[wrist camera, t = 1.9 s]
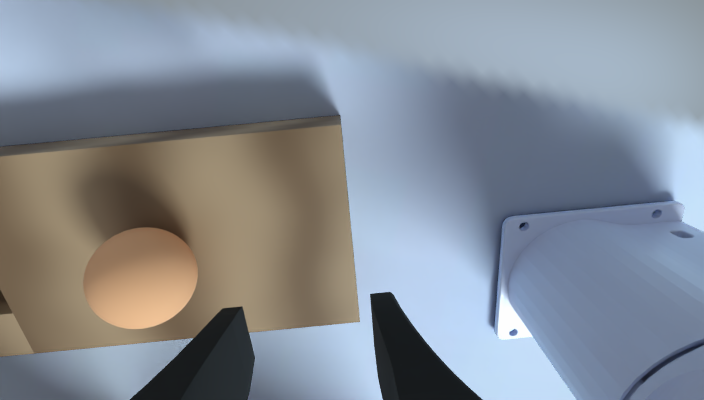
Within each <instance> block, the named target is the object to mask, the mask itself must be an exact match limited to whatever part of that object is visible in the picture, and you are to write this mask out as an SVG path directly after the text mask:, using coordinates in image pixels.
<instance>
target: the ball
mask: <svg viewBox="0 0 704 400" xmlns="http://www.w3.org/2000/svg"><path fill="white" fill-rule="evenodd" d="M197 278H198V267H197V262H196V259H195V256H194V254H193V252H192V250H191V249H190V248H189V246H188V245H187V244H186V243H185V242H184V241H183V240H182V239H181V238H179V237H178V236H176V235H175V234H173V233H171V232H168V231H166V230H162V229H158V228H150V227H143V228H134V229H130V230H126V231H123V232H121V233H119V234H117V235H114V236H113V237H111V238H110V239H108V240H107V241H105V242H104V243H103V244H102V245H101V246H100V247H99V248H98V249H97V250H96V251H95V252H94V254H93V255H92V257H91V258H90V260H89V262H88V264H87V266H86V269H85V273H84V279H83V288H84V294H85V297H86V300H87V302H88V304H89V306H90V307H91V309H92V310H93V311H94V313H95V314H96V315H97V316H99V317H100V318H101V319H102V320H104V321H106V322H107V323H109V324H112V325H114V326H117V327H121V328H126V329H144V328H149V327H153V326H156V325H159V324H161V323H163V322H166V321H167V320H169V319H171V318H172V317H174V316H175V315H176V314H178V313H179V312H180V311H181V310H182V309H183V308H184V307H185V306H186V304H187V303H188V301H189V300H190V298H191V297H192V295H193V292H194V290H195V287H196V284H197Z"/></svg>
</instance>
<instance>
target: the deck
mask: <svg viewBox="0 0 704 400" xmlns="http://www.w3.org/2000/svg"><path fill="white" fill-rule="evenodd" d="M143 227H150V228H158V229H162V230H166V231H168V232H171V233H173V234H175V235H176V236H178V237H179V238H181V239H182V240H183V241H184V242H185V243H186V244H187V245H188V246H189V248H190V249H191V250H192V252H193V254H194V256H195V259H196V262H197V267H198V278H197V284H196V287H195V290H194V292H193V295H192V297H191V298H190V300H189V301H188V303H187V304H186V306H185V307H184V308H183V309H182V310H181V311H180V312H179V313H178V314H176V315H175V316H174V317H172V318H171V319H169V320H167V321H166V322H163V323H161V324H159V325H156V326H153V327H149V328H144V329H126V328H121V327H117V326H114V325H112V324H109V323H107V322H106V321H104V320H102V319H101V318H100V317H99V316H97V315H96V314H95V313H94V311H93V310H92V309H91V307H90V306H89V304H88V302H87V300H86V297H85V294H84V288H83V279H84V273H85V269H86V266H87V264H88V262H89V260H90V258H91V257H92V255H93V254H94V252H95V251H96V250H97V249H98V248H99V247H100V246H101V245H102V244H103V243H104V242H105V241H107V240H108V239H110V238H111V237H113V236H114V235H117V234H119V233H121V232H123V231H126V230H130V229H134V228H143ZM241 306H243V311H244V315H245V319H246V323H247V327H248V331H249V333H250V332H260V331H270V330H281V329H291V328H301V327H311V326H322V325H332V324H342V323H352V322H360V318H359V307H358V296H357V286H356V275H355V265H354V254H353V244H352V234H351V223H350V213H349V202H348V192H347V181H346V171H345V161H344V150H343V140H342V129H341V119H340V115H336V116H325V117H314V118H303V119H293V120H282V121H271V122H260V123H250V124H239V125H228V126H217V127H207V128H196V129H185V130H175V131H164V132H153V133H142V134H132V135H121V136H110V137H99V138H89V139H78V140H67V141H56V142H46V143H35V144H24V145H13V146H3V147H0V357H3V356H13V355H23V354H34V353H44V352H54V351H65V350H75V349H85V348H95V347H106V346H116V345H126V344H137V343H147V342H157V341H167V340H178V339H188V338H195V337H196V336H197V335H198V333H199V332H200V331H201V330H202V329H203V328H204V327H205V326H206V325H207V324H208V323H209V322H210V321H211V320H212V319H213V318H214V316H215V315H216V314H217V313H218V312H219V311H220V310H221V309H222V308H230V307H241Z"/></svg>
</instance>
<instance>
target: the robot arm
mask: <svg viewBox="0 0 704 400" xmlns="http://www.w3.org/2000/svg"><path fill="white" fill-rule="evenodd" d="M684 209H685V207H684V205H683V204H681V203H679V202H676V201H666V202H656V203H645V204H635V205H624V206H614V207H603V208H593V209H582V210H572V211H561V212H551V213H540V214H530V215H519V216H511V217H508V218H507V219H505V221H504V222H503V225H502V236H501V249H500V262H499V276H498V289H497V302H496V315H495V328H494V331H495V334H496V335H497V337H498V338H500V339H513V338H523V337H533V338H534V339H535V341H536V342H537V344H538V345H539V346H540V348H541V349H542V351H543V352H544V354H545V355H546V357H547V358H548V359H549V361H550V362H551V364H552V365H553V367H554V368H555V369H556V371H557V372H558V374H559V375H560V377H561V378H562V380H563V381H564V382H565V384H566V385H567V387H568V388H569V390H570V391H571V392H572V394H573V395H574V397H575V398H576V400H704V232H702V231H700V230H698V229H696V228H694V227H692V226H690V225H688V224H686V223H684V222H682V218H683V214H684ZM655 210H656V211H655ZM654 211H655V213H654V214H653V215H652V213H653V212H654ZM523 222H525V225H524V226H523V227H522V228H519V226H520V224H521V223H523ZM370 297H371V310H372V322H373V335H374V347H375V355H376V364H377V372H378V379H379V384H380V388H381V393H382V397H383V400H482V399H481V398H480V397H479V396H478V395H477V394H476V393H474V392H473V391H472V390H471V389H470V388H469V387H468V386H467V385H466V384H465V383H464V382H463V381H461V380H460V379H459V378H458V377H457V376H456V375H455V374H454V373H453V372H452V371H451V370H450V369H449V368H448V367H447V365H446V364H445V363H444V362H443V361H442V360H441V359H440V358H439V357H438V356H437V354H436V353H435V352H434V351H433V350H432V349H431V348H430V346H429V345H428V344H427V343H426V342H425V340H424V339H423V338H422V337H421V335H420V334H419V333H418V331H417V330H416V329H415V328H414V326H413V325H412V323H411V322H410V321H409V319H408V318H407V316H406V315H405V313H404V312H403V310H402V309H401V307H400V306H399V304H398V302H397V300H396V299H395V297H394V295H393V294H392V293H391V292H385V293H375V294H370ZM512 329H514V330H513V331H511V330H512ZM254 360H255V356H254V352H253V348H252V344H251V340H250V336H249V331H248V327H247V323H246V319H245V315H244V311H243V306H241V307H230V308H222V309H221V310H220V311H219V312H218V313H217V314H216V315H215V316H214V318H213V319H212V320H211V321H210V322H209V323H208V324H207V325H206V326H205V327H204V328H203V329H202V330H201V331H200V332H199V333H198V335H197V336H196V337H195V338H194V339H193V340H192V341H191V342H190V343H189V344H188V345H187V346H186V347H185V348H184V349H183V350H182V351H181V352H180V353H179V354H178V355H177V356H176V357H175V358H174V359H173V360H172V361H171V362H170V363H169V364H168V365H167V366H166V367H165V368H164V369H163V370H162V371H161V372H159V373H158V374H157V375H156V376H155V377H154V378H153V379H152V380H151V381H150V382H149V383H148V384H147V385H146V386H145V387H144V388H142V389H141V390H140V391H139V392H138V393H137V394H136V395H134V396H133V397H132V398H131V399H130V400H247V399H248V395H249V391H250V386H251V380H252V374H253V367H254Z"/></svg>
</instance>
